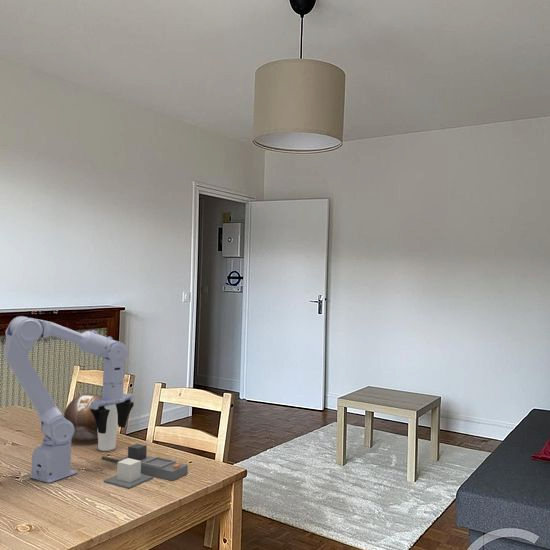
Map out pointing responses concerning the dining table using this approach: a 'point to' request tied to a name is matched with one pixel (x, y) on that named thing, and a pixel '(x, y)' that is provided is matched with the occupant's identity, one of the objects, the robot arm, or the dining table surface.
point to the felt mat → (128, 485)
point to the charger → (129, 470)
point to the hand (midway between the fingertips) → (112, 430)
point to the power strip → (154, 463)
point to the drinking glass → (109, 431)
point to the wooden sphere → (82, 417)
